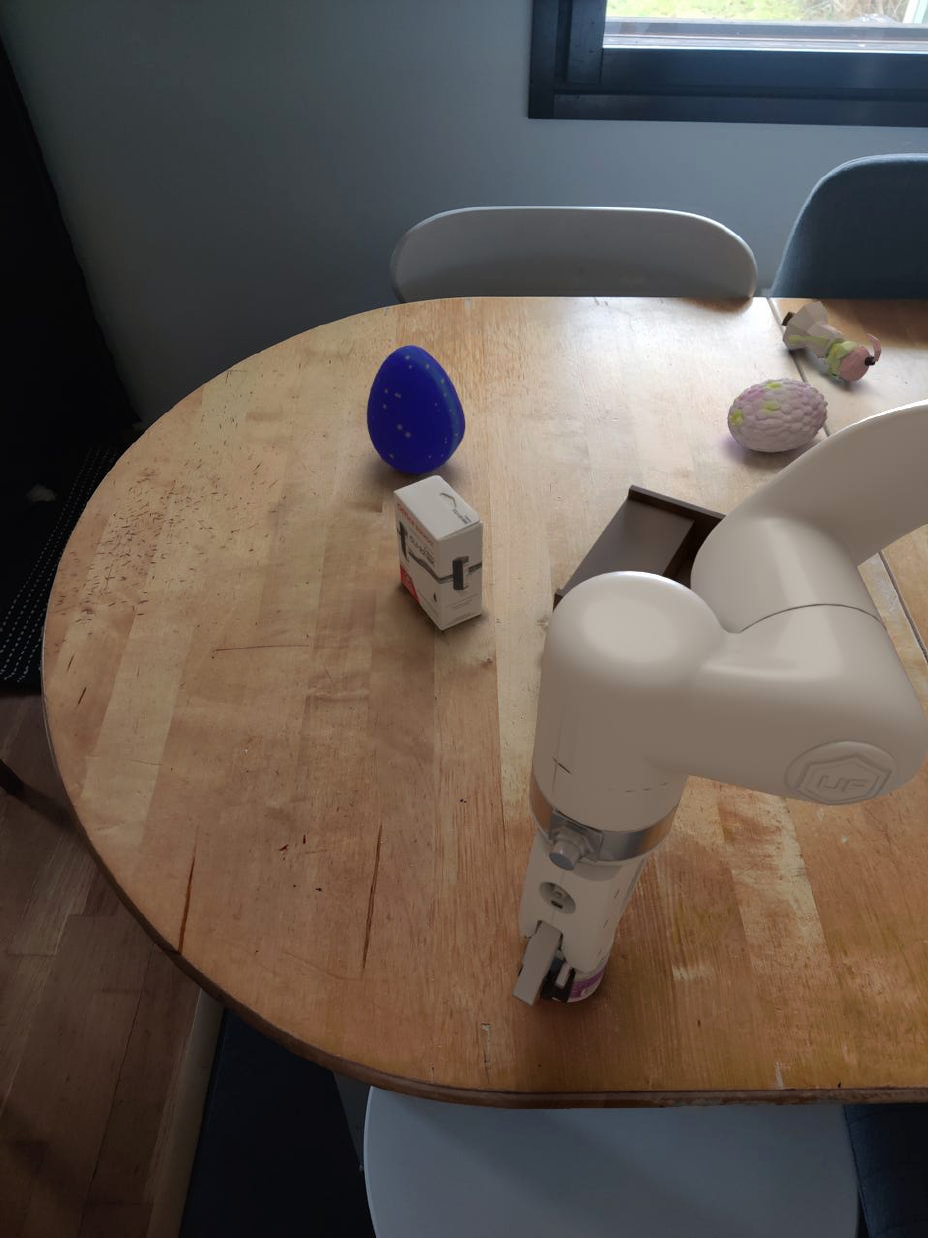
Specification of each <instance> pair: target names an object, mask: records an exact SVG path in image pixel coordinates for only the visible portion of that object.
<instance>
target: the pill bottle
mask: <svg viewBox="0 0 928 1238" xmlns="http://www.w3.org/2000/svg"><path fill="white" fill-rule="evenodd" d="M615 936H616V931H615V932H614V934H613V936H612V938H611V940H610V943H609V945H608V947H607V949H606V951H605V953H604V955H603V957H602V959H601V961H600V963H599V964H598V966H597V967H596V968H595V969H594V970H592V971H590V972H587V973H584V972H582V971H579V970H577V969H575V968H574V970H575V972H576V975H575V979H574V983H573V987H572V991H571V995H570V997H569V999H568V1001H567V1003H574V1002H575V1003H576V1002H578V1001H582V1000H584V999H587V998H588V997H590V996H592V994H593V993H594V992H595V991H596V989H597V988H598V987H599V986H600V983H601V981H602V978H603V976H604V973H605V970H606V968H607V967H606V966H607V963H608V960H609V958H610V954H611V950H612V948H613V945H614V941H615V938H616V937H615ZM555 957H557V958H559V959H561V960H563V959H564V955H563V953H562V952H561V951H559V950H557V952H556V954H555ZM572 968H573V967H572ZM552 1000H555V1001H558V1002H560V1001H559V1000H557V999H556V998H554V997H553V998H552Z"/></svg>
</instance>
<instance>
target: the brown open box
mask: <svg viewBox="0 0 928 1238" xmlns="http://www.w3.org/2000/svg"><path fill="white" fill-rule="evenodd" d="M727 515H728V514H723V513H721V512H717V511H715V510H711V509H708V508H706V507H703V506H699V505H697V504H693V503H690V502H687V501H684V500H681V499H678V498H675V497H672V496H668V495H665V494H662V493H660V492H656V491H653V490H650V489H647V488H643V487H640V486H639V485H638V486H637V485H635V484H631V485H630V487H629V488H628V491H627V497H626V498H625V500H624V501H623V502H622V504H621V505H620V506H619V509H618V510H617V511H616V512H615V514H614V515H613V517H612V518H611V519H610V521H609V523H608V524H607V525H606V527H605V528H604V530H603V531H602V533H601V534H600V535H599V536H598V538H597V540H596V541H595V543H594V544H593V545H592V547H591V548H590V549H589V551H588V552H587V554H586V555H585V557H584V558H583V559H582V561H581V562H580V563H579V565H578V566H577V568H576V569H575V571H574V572H573V574H571V576H570V578H569V579H568V581H567V582H566V583H565V585H564V586H563V588H560V587H558V588H556V590H555V592H554V595H553V602H552V603H553V605H552V613H551V615H552V614H553V612H554V609H555V608H556V607H557V605H558V604H559V602H560V601H561V600H562V598H563V597H564V596H565V595H566V594H567V593H568V592H569V591H571V590H572V589H573V588H574V587H576V586H577V585H579V584H580V583H582V582H584V581H586V580H588V579H590V578H593V577H595V576H599V575H602V574H606V573H612V572H621V571H635V572H645V573H650V574H655V575H659V576H662V577H665V578H668V579H671V580H673V581H675V582H677V583H680V584H682V585H683V586H685V587H687V588H688V589H690V590H691V571H692V568H693V564H694V561H695V558H696V556H697V553H698V551H699V549H700V548H701V546H702V545H703V543H704V542H705V540H706V538H707V537H708V536H709V534H710V533H711V532H712V530H713V529H714V528H715V527H716V526H717V525H718V524H719V523H720V522H721V521H722V520H723V519H724V518H725V517H726V516H727Z"/></svg>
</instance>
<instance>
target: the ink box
mask: <svg viewBox="0 0 928 1238" xmlns="http://www.w3.org/2000/svg"><path fill="white" fill-rule="evenodd" d="M393 502H394V503H393V504H394V515H395V526H396V538H397V539H396V540H397V549H398V562H399V574H400V582H401V583H402V584H403V585H404V587H405V588H406V589H407V590H408V592H409V593H410V594H411V596H413V598H414V599H415V600H416V601H417V603H418V604H419V605H420V607H421V608H422V609H423V610H424V611H425V613H426V614H427V616H428V617H429V619H431V620H432V622H433V623H434V624H435V625H436V627H437V628H438V629H439V630H440V631H445V630H446V629H449V628H452V627H454V626H456V625H458V624H461V623H463V622H465V621H467V620H470V619H472V618H475V617H477V616H479V615H482V613H483V562H484V561H483V556H484V555H483V553H484V552H483V550H484V547H483V546H484V523H483V521H482V520H481V516H480V515H479V514H478V513H477V512H476V511H475V510H474V509H473V508H472V507H471V506H470V505H469V504H468V503H467V502H466V501H465V500H464V499H463V497H462V496H460V495H459V494H458V493H457V492H456V491H455V490H454V489H453V488H452V487H451V485H450V484H449V483H448V482H447V481H445V480H444V478H442V476H440V475H432V476H428V477H426V478H424V479H421V480H419V481H417V482H414V483H411V484H409V485H405V486H403V487H401V488H398V489H395V490H394V491H393Z"/></svg>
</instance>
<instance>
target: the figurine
mask: <svg viewBox="0 0 928 1238" xmlns="http://www.w3.org/2000/svg"><path fill="white" fill-rule="evenodd" d="M781 326H783V327H785V330H784V333H783V336H782V339H781V341H782V342H783V343H784V345H785V346H786V347H787V348H788V350H798V349H804V348H807V349H809V350H810V351H811V352H812V354H813V355H814V356H815V357H816V358H817V359H821V360H822V359H825V360H824V361H823V362H824V364H825V365H826V366H828V367H830V368H828V370H827V371H826V375H831V376H833V377H835V378H836V377H838V378H841V379H843V380H845V381H846V382H849V383H854V382H857V381H859V380H861V379H862V378H863V377H864V376H865V375H867V373H868V371H869V368H870V367H871V366H872V367H873V366H875V365H876V363H877V362H879V360H880V356H881V355H882V346H881V342H880V339H879V338H878V337H875V336H874V335H872V334H871V333H866V336H867V337H868V339H869V341H870V342H871V344H872V348H873V351H874V352H873V354H871V352H869V350H868V349H867V348H866V347H865V346H864V345H860V344H858V343H856V342H854V341H846V338H845V334H843V332H841V331H840V330H838V329H837V328H835V327H834V326H833V327H832V326H831V325H829V317H828V311H827V309H826V308H825V306H824V305H823V303H822V301H821V300H818V301H815V302H810V303H807V304H803V305H802V306H801V307H800V308H799V310H798V311H797V312H796V313H795V312H793V311H788V312H787V313H786V315H785V316H784V318H783V320H782V322H781Z"/></svg>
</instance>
